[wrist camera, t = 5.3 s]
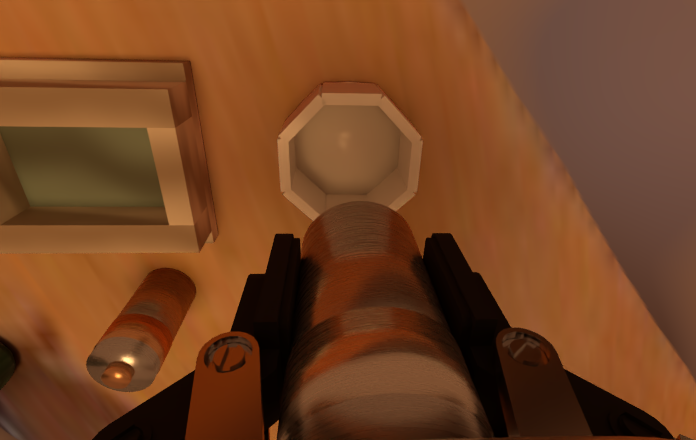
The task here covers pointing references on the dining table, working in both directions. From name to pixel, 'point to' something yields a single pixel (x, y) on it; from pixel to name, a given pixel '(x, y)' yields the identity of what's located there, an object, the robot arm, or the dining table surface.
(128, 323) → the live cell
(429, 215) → the dining table surface
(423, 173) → the dining table surface
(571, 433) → the robot arm
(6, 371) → the coffee jar
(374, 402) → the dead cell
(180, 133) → the tray
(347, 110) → the beige piece
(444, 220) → the dining table surface
